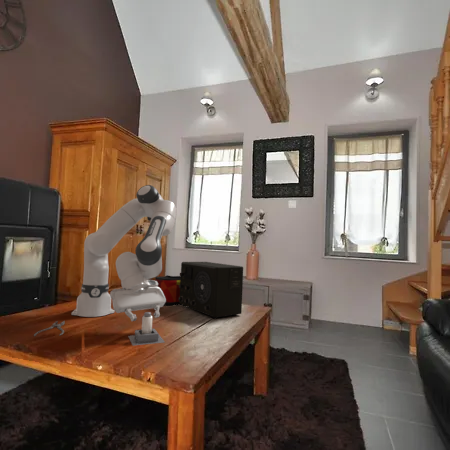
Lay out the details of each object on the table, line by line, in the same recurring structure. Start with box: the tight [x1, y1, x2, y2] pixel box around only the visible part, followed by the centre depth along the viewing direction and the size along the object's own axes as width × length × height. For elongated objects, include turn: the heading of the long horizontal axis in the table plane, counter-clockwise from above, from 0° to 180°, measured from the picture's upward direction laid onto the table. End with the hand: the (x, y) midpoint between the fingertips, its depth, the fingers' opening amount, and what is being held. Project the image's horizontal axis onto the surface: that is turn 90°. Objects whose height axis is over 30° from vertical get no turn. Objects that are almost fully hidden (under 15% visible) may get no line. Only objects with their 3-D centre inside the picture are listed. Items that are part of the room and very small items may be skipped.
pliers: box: [33, 320, 66, 337], centre depth 119 cm, size 10×1×20 cm
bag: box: [154, 274, 181, 307], centre depth 181 cm, size 30×14×16 cm, turn 127°
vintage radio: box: [178, 261, 244, 319], centre depth 164 cm, size 38×20×25 cm, turn 38°
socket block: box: [128, 328, 166, 346], centre depth 109 cm, size 11×11×4 cm
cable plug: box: [141, 311, 154, 334], centre depth 109 cm, size 4×4×9 cm
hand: (146, 318), depth 111 cm, fingers open, 8 cm apart
